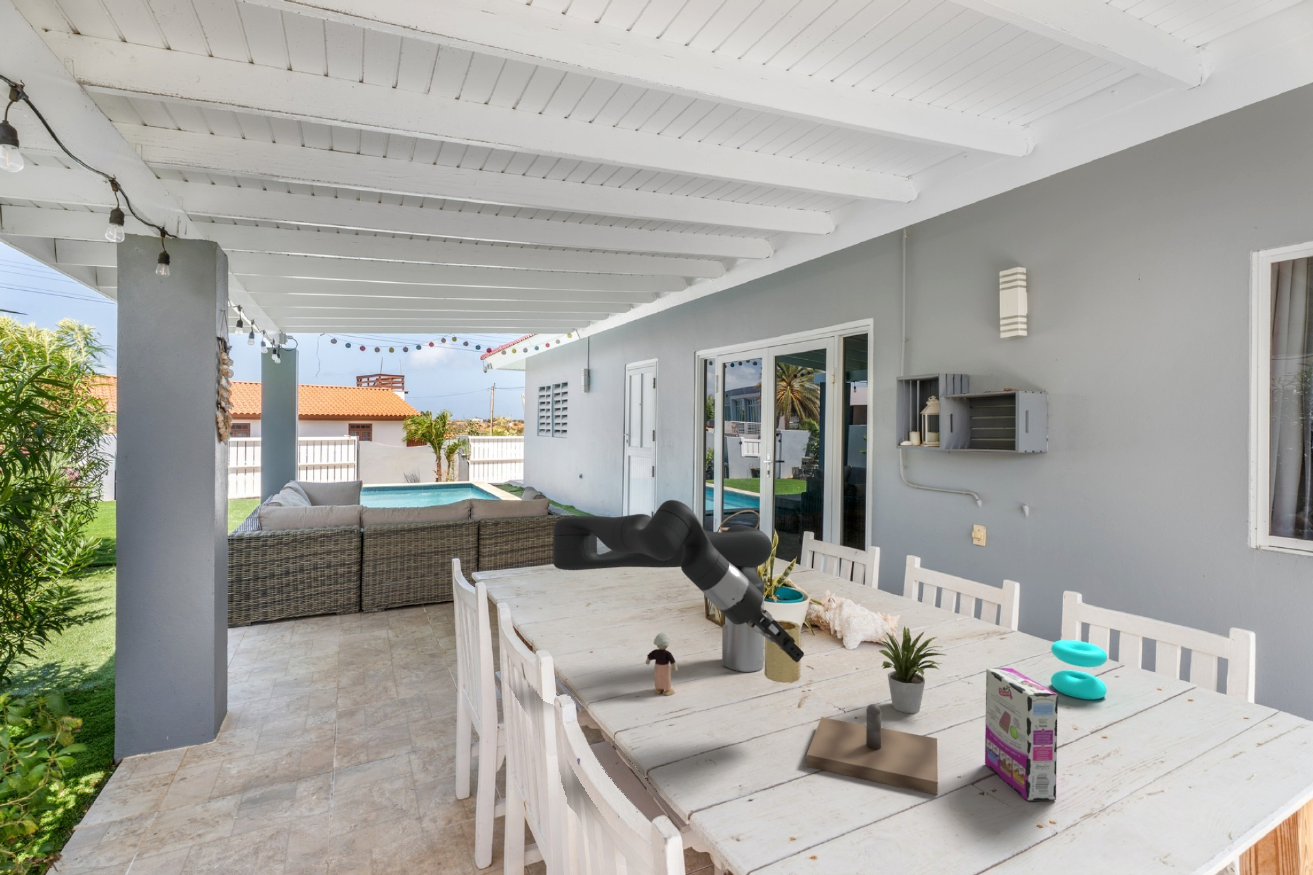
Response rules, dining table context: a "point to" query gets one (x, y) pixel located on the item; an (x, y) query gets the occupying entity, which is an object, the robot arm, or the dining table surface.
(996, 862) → the dining table surface
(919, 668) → the house plant
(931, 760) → the post plate
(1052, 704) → the candy bar box
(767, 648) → the brass sleeve
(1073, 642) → the donuts
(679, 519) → the robot arm
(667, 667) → the grandmother figurine
